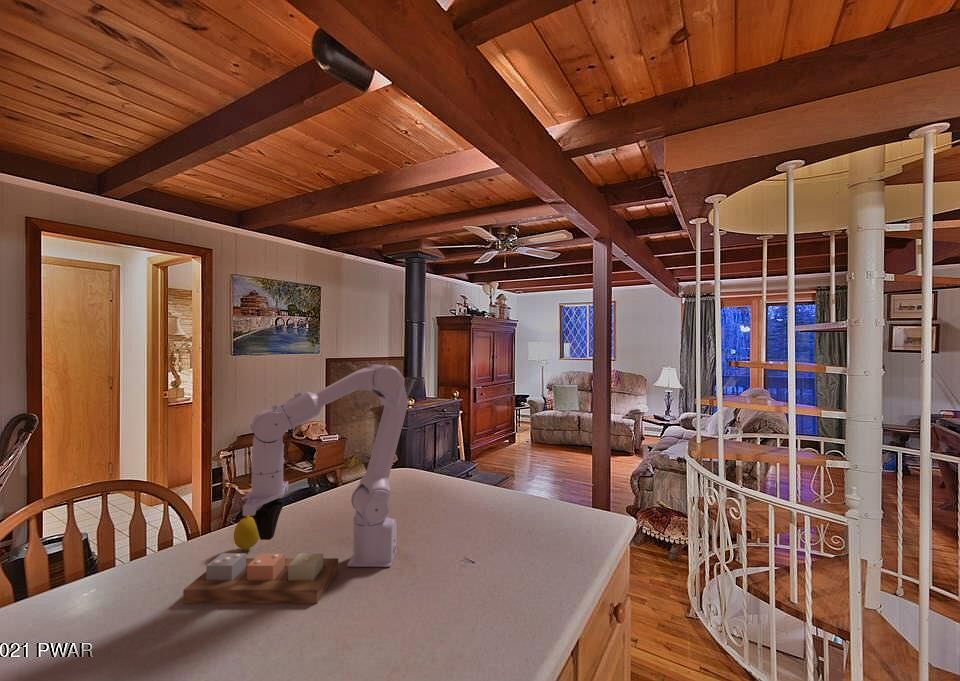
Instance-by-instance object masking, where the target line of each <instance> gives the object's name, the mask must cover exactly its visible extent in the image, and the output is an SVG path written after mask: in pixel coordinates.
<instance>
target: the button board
mask: <svg viewBox="0 0 960 681" xmlns="http://www.w3.org/2000/svg"><path fill="white" fill-rule="evenodd" d="M255 558H256V557H251V558H249V557H248V558H247V557H246V568H245V569H244V570H243V571H242V572H241V573H240V574H239V575H238V576H237V577H236V578H235V579H233V580H206V571H205V572H203V573H202V574H201V575H200V576H199V577H197V578H196V579H194V580H193V581H192V582H191V583H189V585H187V586H186V587H185V588H184V589H182V590H183V596H182V597H183V598H182V602H183V604H318V603H319V601H320V599H321V598H322V597H323V595H324V593H325V592H326V590H327V588H328V587H329V586H330V584H331V582H332V580H333V579H334V578H335V576H336V575H337V573H338V571H339V558H335V557H334V558H330V557H329V558H328V557H327V558H325V557H323V570H322V571H321V572H320V574H319V575H318V577H317V578H316V580H315V581H288V566H289V564H290V563H291V562H292V561H293V560H294V559H295V558H296V557H295V558H293V557H291V558H290V557H286V558H285V568H284V569H283V571H282V572H281V573H280V574H279V575H278V576H277V577H276V578H275V580H274V581H260V580H247V566H248V565H249V564H250V563H251V562H252V561H253V560H254V559H255Z"/></svg>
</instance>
